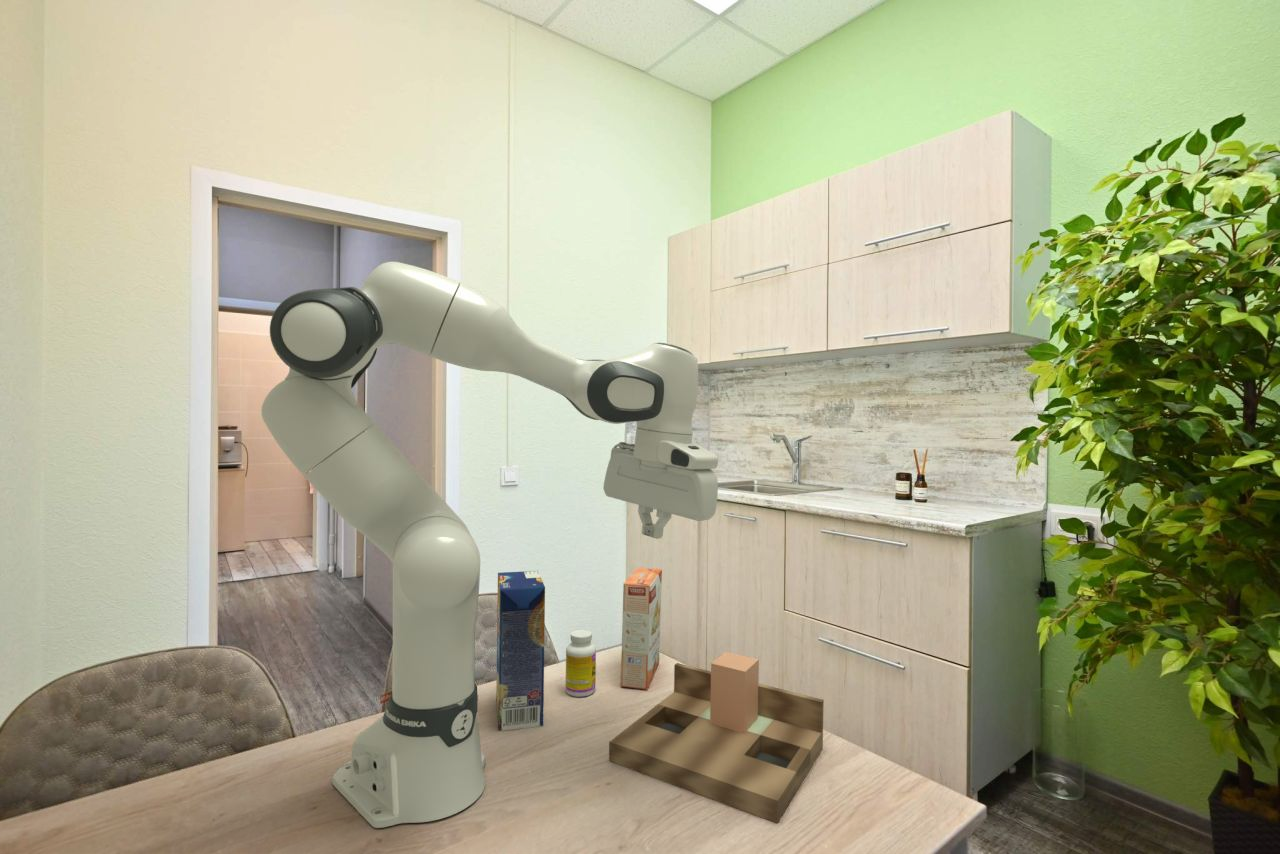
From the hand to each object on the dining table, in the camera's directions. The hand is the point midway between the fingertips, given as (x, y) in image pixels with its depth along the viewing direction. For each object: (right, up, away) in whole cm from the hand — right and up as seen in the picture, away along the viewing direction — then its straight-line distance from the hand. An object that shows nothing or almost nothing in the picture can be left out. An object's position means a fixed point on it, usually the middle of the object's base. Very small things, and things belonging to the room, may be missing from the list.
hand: (651, 536), depth 97 cm
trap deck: (+11, -35, +1) cm, 36 cm away
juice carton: (-24, -34, +14) cm, 44 cm away
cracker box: (-1, -35, +31) cm, 46 cm away
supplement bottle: (-13, -35, +23) cm, 44 cm away
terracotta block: (+14, -32, +6) cm, 35 cm away
